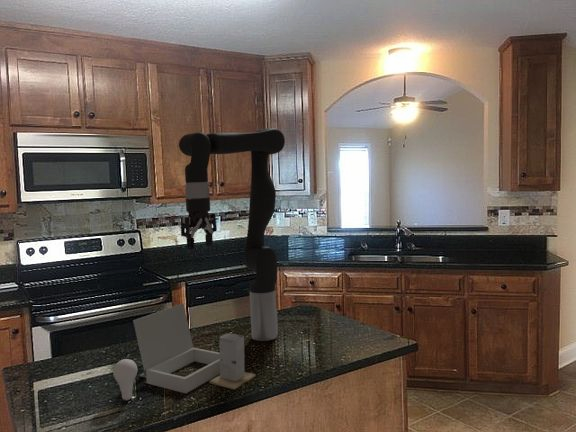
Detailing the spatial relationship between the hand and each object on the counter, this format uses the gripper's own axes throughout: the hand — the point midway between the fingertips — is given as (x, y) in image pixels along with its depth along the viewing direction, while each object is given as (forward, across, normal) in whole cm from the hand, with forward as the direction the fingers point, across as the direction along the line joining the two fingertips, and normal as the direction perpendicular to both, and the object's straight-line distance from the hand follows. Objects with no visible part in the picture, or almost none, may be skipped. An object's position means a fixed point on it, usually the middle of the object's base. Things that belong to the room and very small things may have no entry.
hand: (200, 247), depth 156 cm
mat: (+36, +10, +18) cm, 42 cm away
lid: (+25, +13, -4) cm, 29 cm away
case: (+36, +13, +5) cm, 39 cm away
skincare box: (+36, +10, +18) cm, 41 cm away
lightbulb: (+36, +33, +1) cm, 49 cm away
